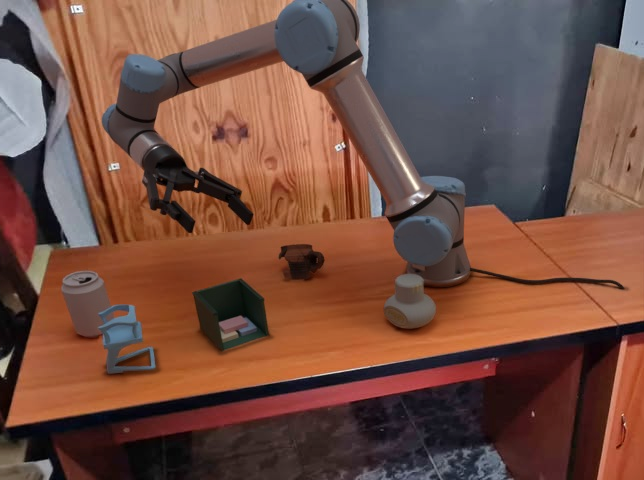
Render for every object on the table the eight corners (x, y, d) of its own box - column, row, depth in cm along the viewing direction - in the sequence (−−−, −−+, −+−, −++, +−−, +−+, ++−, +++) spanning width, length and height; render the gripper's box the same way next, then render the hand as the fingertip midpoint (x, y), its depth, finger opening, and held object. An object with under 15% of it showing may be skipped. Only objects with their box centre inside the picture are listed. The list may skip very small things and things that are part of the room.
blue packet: (231, 326, 139) (230, 322, 139) (247, 321, 141) (246, 317, 141) (241, 336, 136) (240, 332, 136) (257, 331, 138) (256, 327, 137)
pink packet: (224, 334, 135) (223, 329, 134) (217, 327, 137) (217, 322, 136) (248, 326, 138) (247, 322, 137) (241, 319, 140) (240, 315, 139)
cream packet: (212, 332, 137) (211, 328, 137) (228, 327, 139) (227, 323, 138) (222, 343, 134) (221, 339, 133) (238, 337, 136) (238, 333, 135)
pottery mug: (272, 282, 158) (268, 246, 157) (295, 282, 167) (291, 248, 166) (317, 277, 154) (313, 240, 153) (338, 278, 163) (334, 243, 162)
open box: (200, 331, 139) (191, 292, 134) (247, 316, 144) (241, 278, 139) (221, 353, 132) (213, 313, 127) (270, 337, 137) (264, 298, 132)
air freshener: (378, 320, 144) (375, 277, 139) (405, 305, 149) (404, 264, 144) (415, 338, 138) (414, 295, 133) (442, 323, 144) (442, 281, 138)
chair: (106, 359, 129) (89, 304, 123) (153, 350, 132) (138, 295, 126) (107, 381, 124) (89, 324, 117) (156, 371, 127) (141, 315, 120)
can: (101, 341, 134) (84, 288, 127) (68, 336, 135) (49, 283, 129) (124, 322, 140) (109, 270, 134) (92, 318, 141) (75, 266, 135)
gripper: (206, 172, 150) (266, 231, 145) (96, 179, 131) (160, 247, 125) (215, 142, 146) (277, 201, 140) (102, 145, 126) (169, 213, 121)
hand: (222, 223), depth 133 cm, fingers open, 13 cm apart
